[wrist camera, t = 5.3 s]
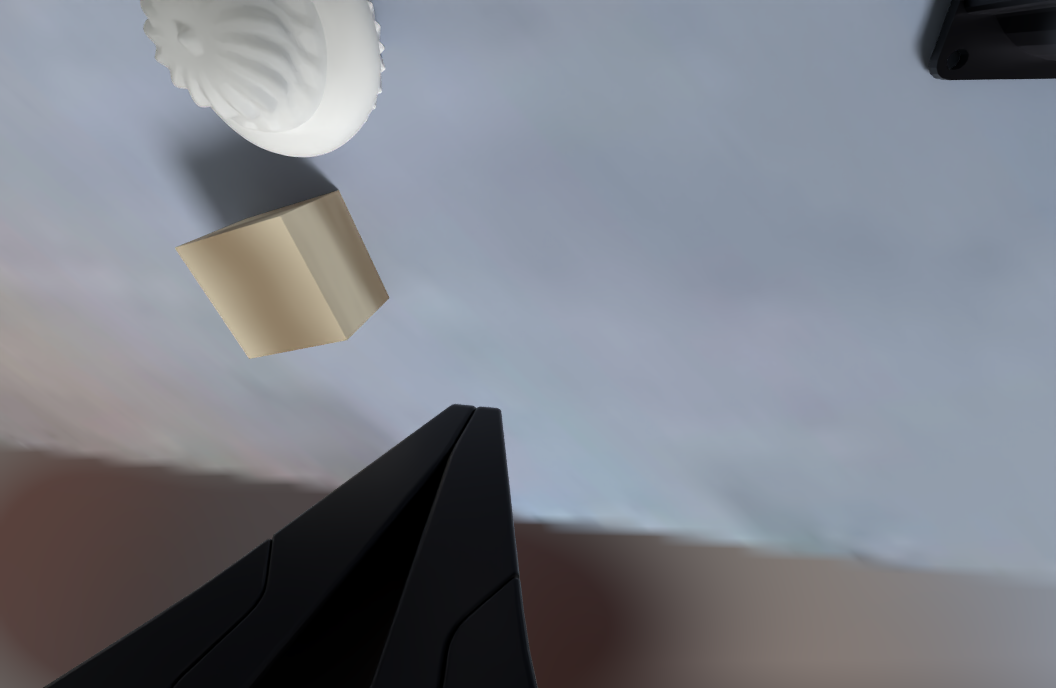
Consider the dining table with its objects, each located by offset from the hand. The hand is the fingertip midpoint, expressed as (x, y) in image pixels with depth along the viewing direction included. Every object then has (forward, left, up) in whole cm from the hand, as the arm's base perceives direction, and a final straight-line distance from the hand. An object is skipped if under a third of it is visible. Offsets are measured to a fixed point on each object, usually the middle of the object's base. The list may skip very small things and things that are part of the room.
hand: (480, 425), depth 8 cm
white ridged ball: (+8, -6, -12) cm, 16 cm away
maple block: (+11, +2, -12) cm, 16 cm away
